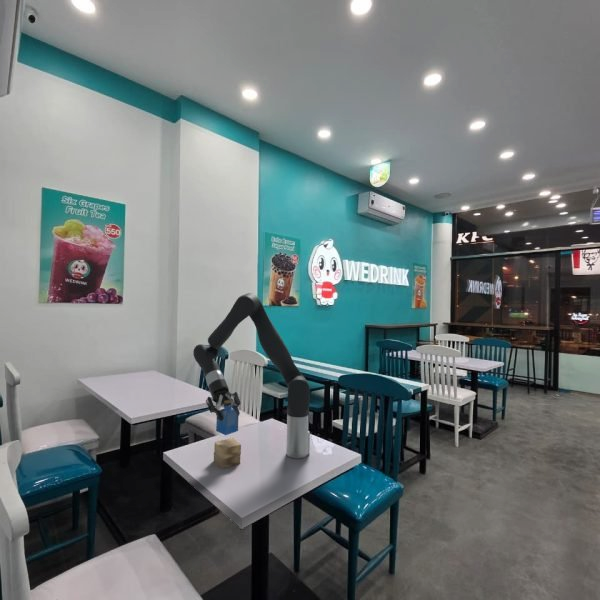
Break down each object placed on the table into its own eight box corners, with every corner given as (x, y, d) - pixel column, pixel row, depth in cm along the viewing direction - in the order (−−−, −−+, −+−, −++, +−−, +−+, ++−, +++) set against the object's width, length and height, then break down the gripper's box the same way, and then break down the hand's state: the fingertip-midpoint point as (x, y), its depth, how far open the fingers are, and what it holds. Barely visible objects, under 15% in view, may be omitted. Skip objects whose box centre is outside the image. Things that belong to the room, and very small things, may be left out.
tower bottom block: (231, 456, 142) (232, 447, 142) (240, 464, 136) (240, 454, 136) (213, 461, 137) (213, 451, 137) (221, 469, 131) (221, 459, 131)
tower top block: (232, 447, 142) (232, 437, 142) (240, 454, 136) (241, 444, 136) (214, 451, 138) (214, 442, 138) (222, 459, 131) (222, 449, 131)
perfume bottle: (228, 427, 141) (229, 398, 141) (238, 430, 137) (238, 401, 137) (216, 431, 136) (217, 401, 136) (225, 435, 132) (226, 404, 132)
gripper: (204, 380, 138) (217, 417, 129) (234, 376, 147) (248, 409, 138) (198, 390, 142) (210, 426, 133) (228, 385, 151) (241, 419, 142)
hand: (229, 418), depth 136 cm, fingers closed on perfume bottle, 6 cm apart
